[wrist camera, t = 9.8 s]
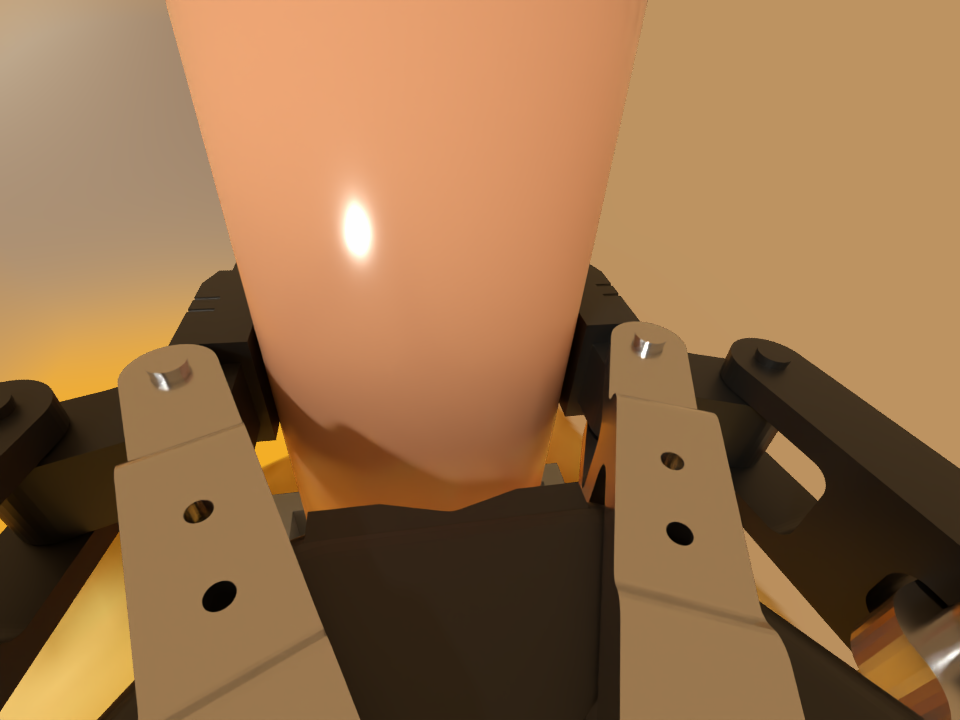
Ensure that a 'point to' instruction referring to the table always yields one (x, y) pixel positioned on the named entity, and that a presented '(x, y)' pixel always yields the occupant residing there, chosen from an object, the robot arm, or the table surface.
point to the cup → (411, 222)
